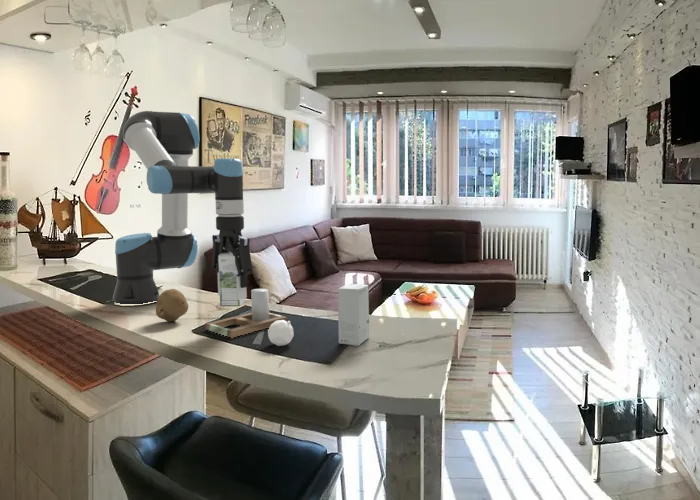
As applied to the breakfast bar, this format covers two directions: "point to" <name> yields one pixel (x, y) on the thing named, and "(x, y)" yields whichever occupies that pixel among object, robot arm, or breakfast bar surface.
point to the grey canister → (260, 304)
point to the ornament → (280, 332)
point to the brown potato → (171, 305)
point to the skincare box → (353, 314)
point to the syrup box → (228, 280)
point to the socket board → (243, 320)
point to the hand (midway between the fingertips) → (232, 296)
